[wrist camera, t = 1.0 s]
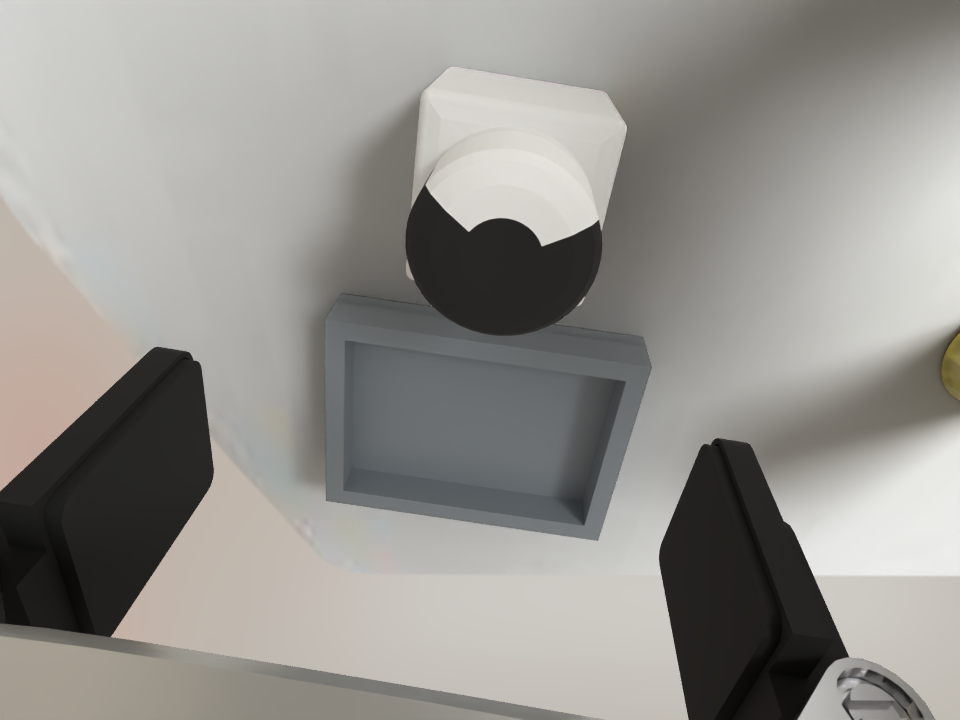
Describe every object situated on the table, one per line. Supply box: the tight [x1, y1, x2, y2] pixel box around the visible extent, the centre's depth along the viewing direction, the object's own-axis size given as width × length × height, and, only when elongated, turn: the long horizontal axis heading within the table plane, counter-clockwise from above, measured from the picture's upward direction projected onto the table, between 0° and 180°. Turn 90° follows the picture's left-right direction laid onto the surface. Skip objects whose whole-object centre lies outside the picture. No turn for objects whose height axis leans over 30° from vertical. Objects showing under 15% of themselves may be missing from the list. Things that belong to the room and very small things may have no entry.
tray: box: [325, 294, 652, 541], centre depth 35 cm, size 16×12×3 cm
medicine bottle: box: [406, 67, 627, 336], centre depth 24 cm, size 7×7×12 cm
